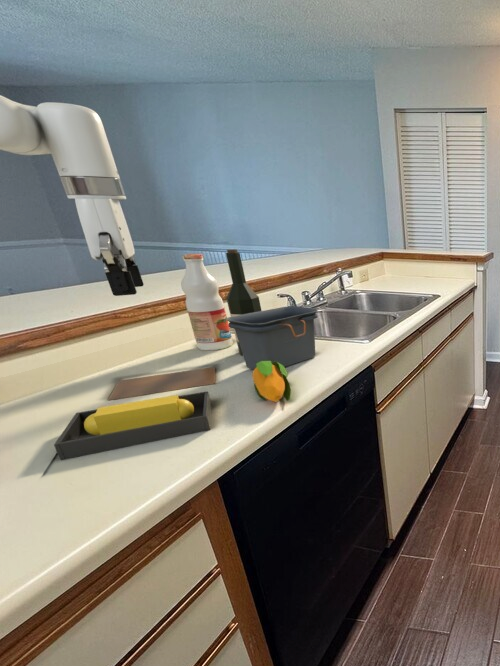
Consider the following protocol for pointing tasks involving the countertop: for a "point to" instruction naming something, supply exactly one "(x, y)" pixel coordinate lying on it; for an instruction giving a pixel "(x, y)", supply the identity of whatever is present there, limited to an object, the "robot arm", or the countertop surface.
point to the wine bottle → (240, 290)
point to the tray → (132, 431)
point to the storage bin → (276, 335)
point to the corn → (271, 381)
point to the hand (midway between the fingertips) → (129, 290)
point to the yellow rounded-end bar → (138, 414)
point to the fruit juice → (205, 305)
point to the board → (163, 383)
